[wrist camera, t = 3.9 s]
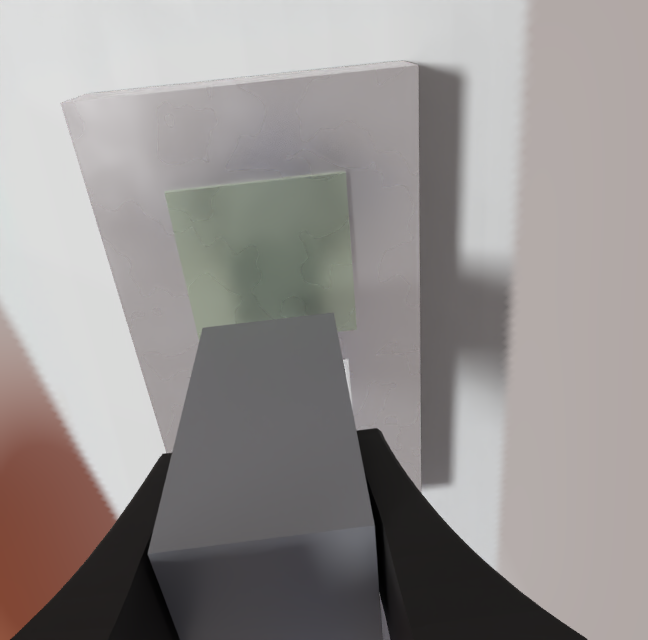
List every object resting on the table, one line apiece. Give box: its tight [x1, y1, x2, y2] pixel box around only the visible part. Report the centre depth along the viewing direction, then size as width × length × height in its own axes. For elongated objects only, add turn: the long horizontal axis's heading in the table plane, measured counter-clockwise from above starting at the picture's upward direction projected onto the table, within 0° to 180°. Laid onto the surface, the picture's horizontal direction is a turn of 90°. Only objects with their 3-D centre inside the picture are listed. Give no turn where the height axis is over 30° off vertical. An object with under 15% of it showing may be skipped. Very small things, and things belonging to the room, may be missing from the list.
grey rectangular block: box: [148, 312, 383, 640], centre depth 14 cm, size 4×4×8 cm
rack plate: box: [61, 61, 421, 492], centre depth 22 cm, size 20×11×3 cm, turn 5°
